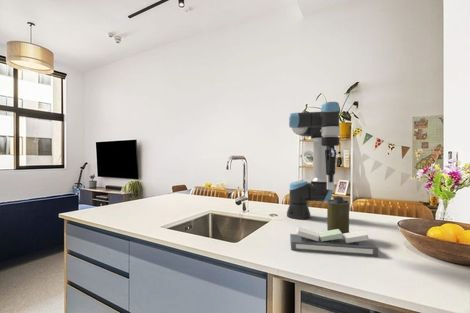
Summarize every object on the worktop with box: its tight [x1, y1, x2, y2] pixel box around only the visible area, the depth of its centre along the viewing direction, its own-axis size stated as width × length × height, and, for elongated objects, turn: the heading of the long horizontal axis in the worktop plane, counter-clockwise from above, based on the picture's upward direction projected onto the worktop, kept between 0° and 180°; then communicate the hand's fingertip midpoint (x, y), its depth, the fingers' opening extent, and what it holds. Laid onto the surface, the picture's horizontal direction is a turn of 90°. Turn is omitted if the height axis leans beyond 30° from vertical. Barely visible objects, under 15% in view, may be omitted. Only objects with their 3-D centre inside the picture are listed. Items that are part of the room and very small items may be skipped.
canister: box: [326, 195, 350, 234], centre depth 117 cm, size 11×10×20 cm
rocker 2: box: [342, 229, 370, 243], centre depth 100 cm, size 6×9×2 cm, turn 79°
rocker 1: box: [295, 226, 319, 241], centre depth 104 cm, size 6×9×2 cm, turn 79°
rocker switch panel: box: [289, 233, 379, 257], centre depth 102 cm, size 10×34×5 cm, turn 79°
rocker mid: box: [317, 229, 343, 242], centre depth 102 cm, size 6×9×2 cm, turn 79°
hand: (330, 189), depth 105 cm, fingers closed
